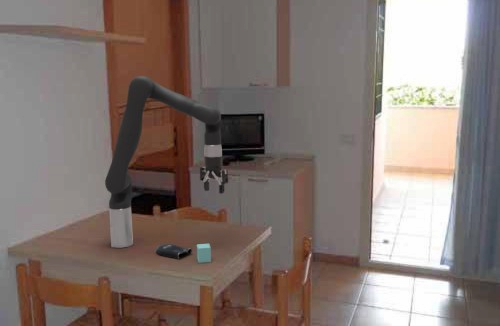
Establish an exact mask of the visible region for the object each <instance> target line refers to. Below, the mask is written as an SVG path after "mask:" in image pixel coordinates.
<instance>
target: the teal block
mask: <svg viewBox="0 0 500 326" xmlns="http://www.w3.org/2000/svg"><path fill="white" fill-rule="evenodd" d="M211 252H212V249H211V245H210V243H200V244H196V258H197V259H196V260H197V262H198V264H201V263H202V264H203V263H211V262H212V253H211Z"/></svg>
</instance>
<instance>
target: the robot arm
mask: <svg viewBox="0 0 500 326" xmlns="http://www.w3.org/2000/svg"><path fill="white" fill-rule="evenodd" d="M148 99H150V100H153V101H157V102H159V103H162V104H164V105H166V106H168V107H170V108H172V110H173V109H174V110H175V111H176V112H179V113H181V114H184V115H186V116H189V117H191V118H194V119H196V120H198V121H200V122H202V123H204V128H205V130H204V137H203V138H204V151H203V154H204V165H203V166H201V167H199V181H202V182H203V189H204V191H205V192H208V191H210V180H211V179H214V180H215V181H217V183H218V184H219V185H218V193H219V194H221V195H222V194H224V193H225V185H226V184H228V183H229V174H228V173H229V172H228V169H226V168H225V169H222V166H223V149H222V148H223V147H222V135H221V126H222V125H221V124H222V114H221V112H220V110H219V109H218V108H217V107H210V106H208V105H205V104H202V103H201V102H199V101H197V100H196V99H193V98H190V97H188V96H186V95H183V94H181V93H178V92H176V91H173V90H171V89H168V88H167V87H164V86H162V85H161V84H159V83H157V82H156V81H154V80H152V79H151V78H150V77H148V76H146V75H145V76H144V75H139V76H136V77H133V79H131V81H130V83H129V86H128V92H127V99H126V105H125V109H124V113H123V115H122V119H121V123H120V126H119V129H118V133H117V137H116V143H115V146H114V151H113V154H112V155H113V156H112V160H111V163H110V166H109V168H108V171H107V174H106V177H105V180H104V184H105V188H106V190H107V192H109V193H110V197H109V201H108V208H109V209H108V211H109V223H110V225H109V231H110V233H109V234H110V246H111V248H115V249H116V248H117V249H120V248H121V249H122V248H128V247H131V246H132V245H134V236H133V220H132V219H133V218H132V197H133V191H132V190H133V188H132V177H131V175H130V174H129V172H128V170H129V167H130V163H131V161H132V159H133V157H134V155H135V153H136V151H137V149H138V146H139V143H140V141H141V137H142V133H143V115H144V109H145V106H146V103H147V100H148Z"/></svg>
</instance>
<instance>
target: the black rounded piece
mask: <svg viewBox="0 0 500 326" xmlns="http://www.w3.org/2000/svg"><path fill="white" fill-rule="evenodd" d="M192 249H193V248H191V247H189V248H186V247H182V246H179V245H176V244H173V243H164V244H159V246H157V248H156V249H155V252H156V253H157V254H158V255H160V256H163V257H167V258H172V259H178V260H180V259H182V258H185V257H187V256H188V255H192V252H193V250H192ZM180 254H182V255H180ZM179 255H180V256H179Z"/></svg>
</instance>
